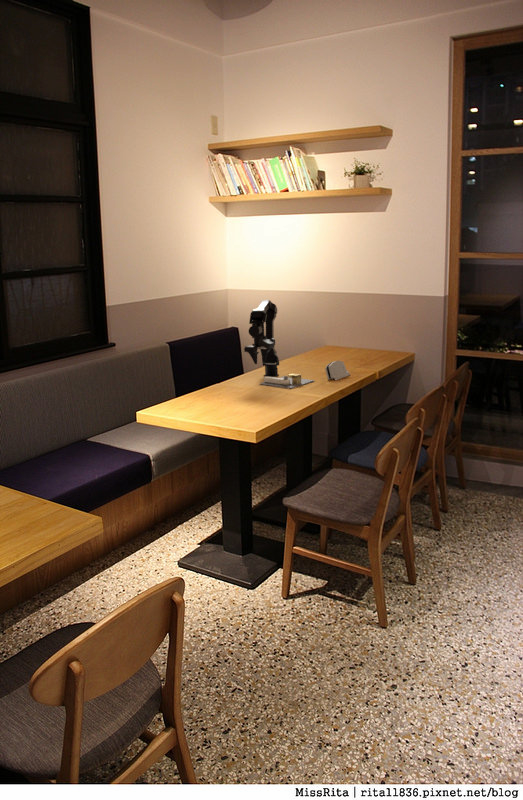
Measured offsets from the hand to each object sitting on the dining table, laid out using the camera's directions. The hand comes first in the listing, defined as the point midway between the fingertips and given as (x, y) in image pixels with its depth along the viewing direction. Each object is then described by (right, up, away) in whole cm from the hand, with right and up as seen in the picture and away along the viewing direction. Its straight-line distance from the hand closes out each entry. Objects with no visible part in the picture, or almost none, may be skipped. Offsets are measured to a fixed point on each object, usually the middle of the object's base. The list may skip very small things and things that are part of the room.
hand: (260, 363), depth 365 cm
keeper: (+18, -11, +2) cm, 22 cm away
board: (+15, -10, +6) cm, 19 cm away
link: (+9, -10, +3) cm, 14 cm away
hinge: (+43, -7, +16) cm, 46 cm away
